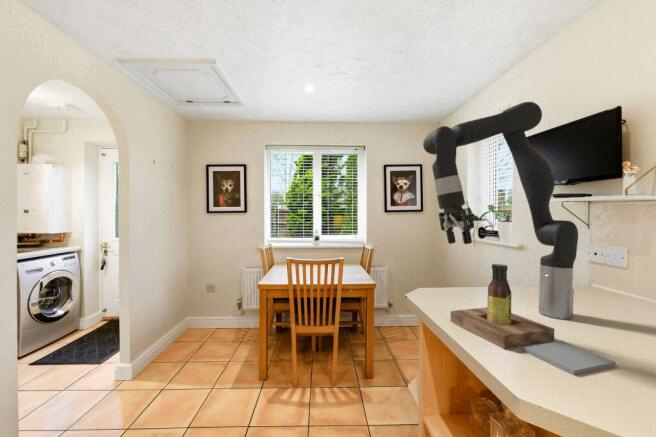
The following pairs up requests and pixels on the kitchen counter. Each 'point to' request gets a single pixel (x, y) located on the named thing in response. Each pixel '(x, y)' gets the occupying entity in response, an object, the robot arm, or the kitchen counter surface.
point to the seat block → (503, 329)
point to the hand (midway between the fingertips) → (459, 243)
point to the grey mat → (569, 357)
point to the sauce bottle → (499, 297)
